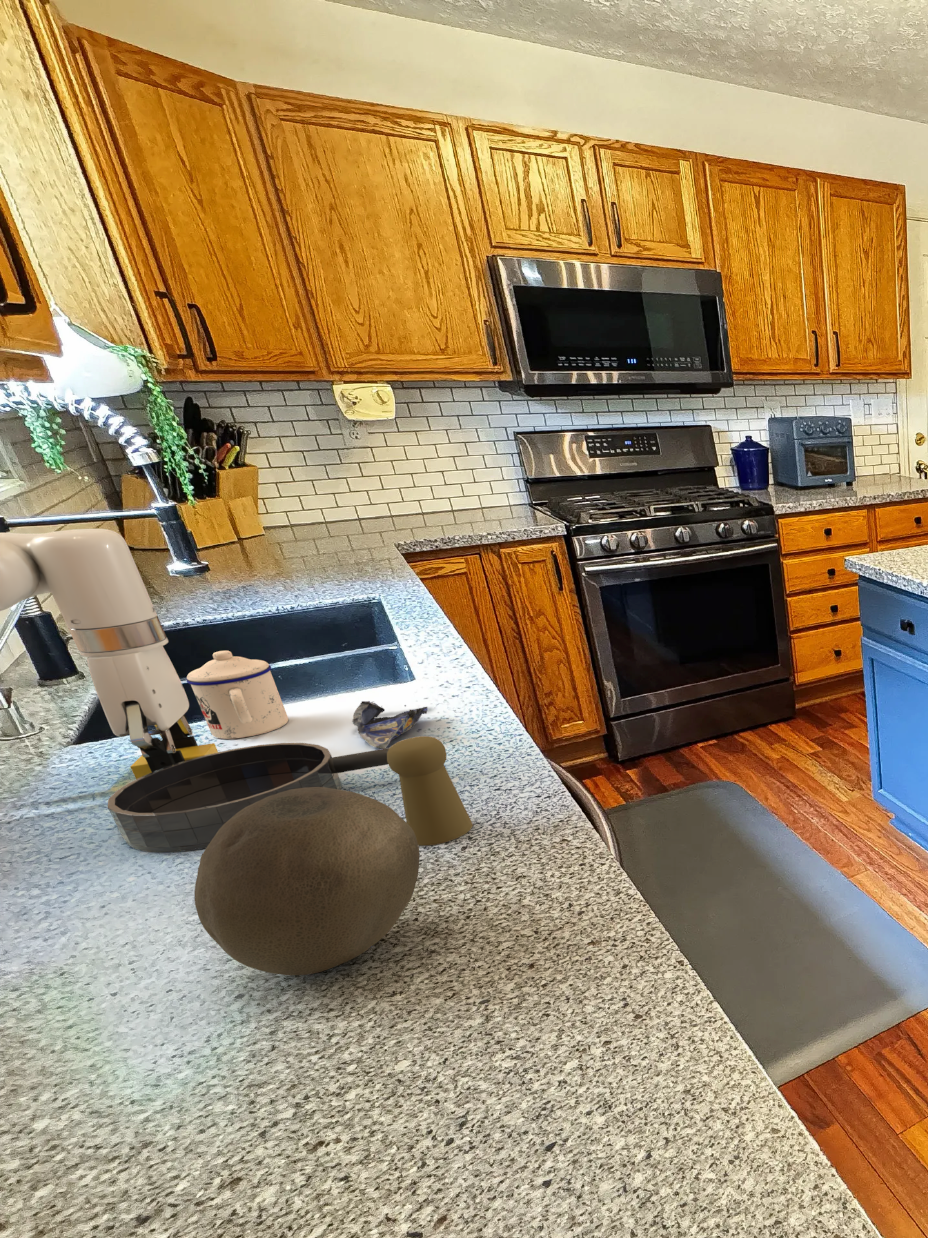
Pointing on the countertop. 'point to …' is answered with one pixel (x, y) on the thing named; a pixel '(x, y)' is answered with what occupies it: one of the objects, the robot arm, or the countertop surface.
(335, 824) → the cantaloupe
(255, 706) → the teacup with lid
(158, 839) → the pan
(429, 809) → the cork
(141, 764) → the sponge
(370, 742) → the snack package
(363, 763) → the pan handle
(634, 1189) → the countertop surface
